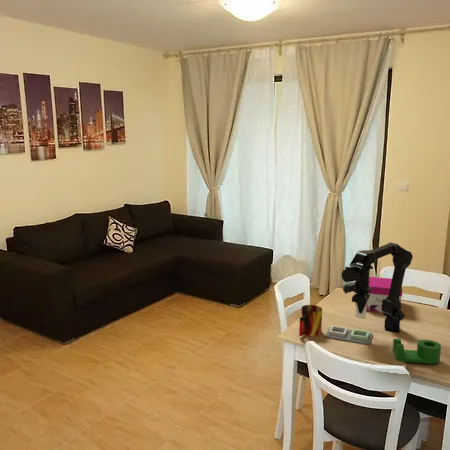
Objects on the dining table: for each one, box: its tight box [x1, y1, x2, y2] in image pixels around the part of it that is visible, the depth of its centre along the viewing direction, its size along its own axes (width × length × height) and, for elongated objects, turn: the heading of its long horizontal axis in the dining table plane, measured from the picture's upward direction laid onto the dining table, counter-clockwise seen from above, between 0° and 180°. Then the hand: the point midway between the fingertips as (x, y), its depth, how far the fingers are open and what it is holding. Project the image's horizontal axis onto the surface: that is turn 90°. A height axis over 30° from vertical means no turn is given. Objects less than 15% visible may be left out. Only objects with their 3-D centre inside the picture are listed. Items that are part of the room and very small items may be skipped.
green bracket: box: [392, 338, 442, 365], centre depth 191 cm, size 18×9×6 cm, turn 81°
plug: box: [354, 302, 367, 319], centre depth 209 cm, size 5×4×8 cm
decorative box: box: [366, 276, 403, 314], centre depth 248 cm, size 19×19×15 cm
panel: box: [324, 325, 374, 346], centre depth 213 cm, size 20×12×2 cm, turn 66°
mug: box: [298, 304, 323, 337], centre depth 215 cm, size 10×14×12 cm
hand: (361, 311), depth 209 cm, fingers closed on plug, 4 cm apart
